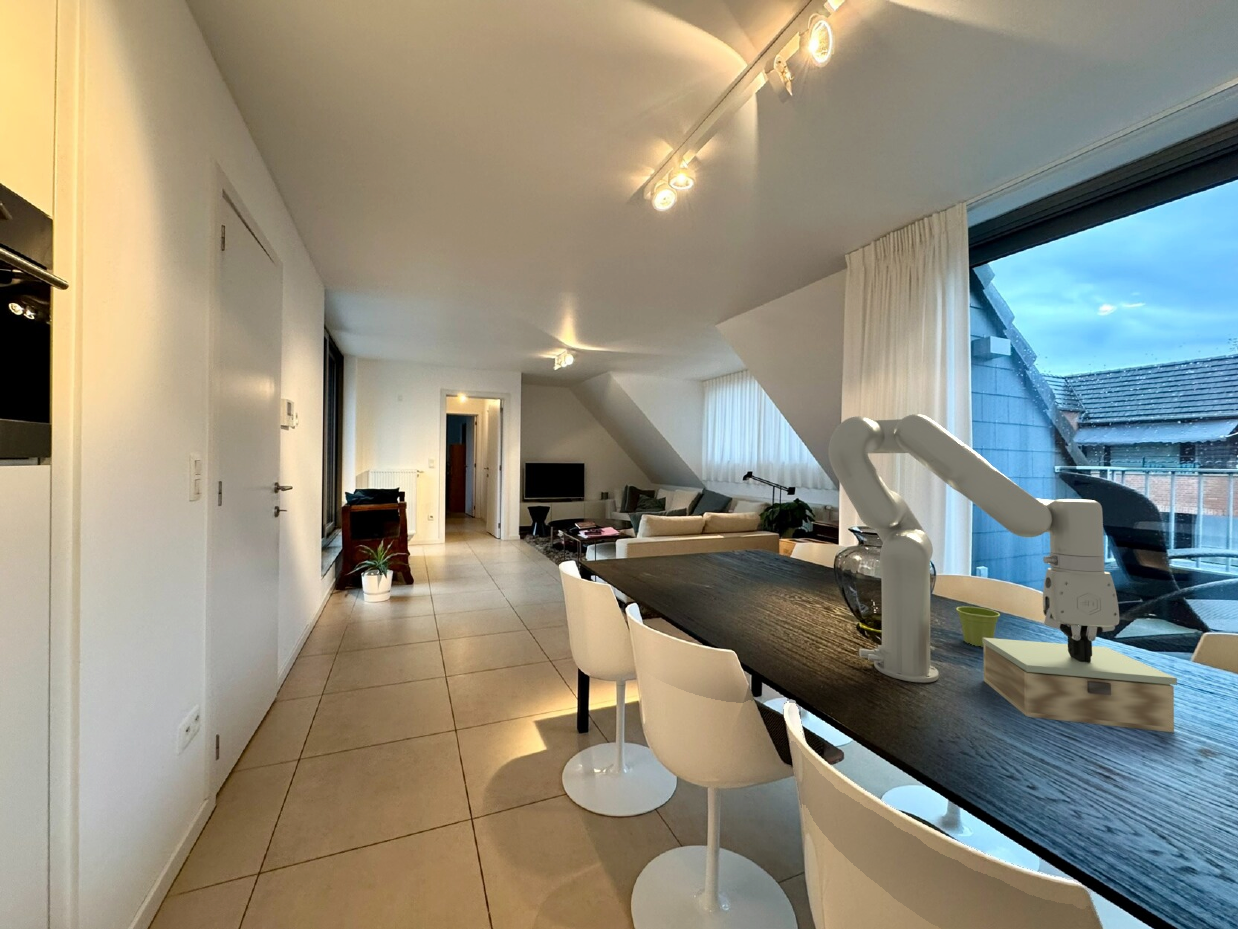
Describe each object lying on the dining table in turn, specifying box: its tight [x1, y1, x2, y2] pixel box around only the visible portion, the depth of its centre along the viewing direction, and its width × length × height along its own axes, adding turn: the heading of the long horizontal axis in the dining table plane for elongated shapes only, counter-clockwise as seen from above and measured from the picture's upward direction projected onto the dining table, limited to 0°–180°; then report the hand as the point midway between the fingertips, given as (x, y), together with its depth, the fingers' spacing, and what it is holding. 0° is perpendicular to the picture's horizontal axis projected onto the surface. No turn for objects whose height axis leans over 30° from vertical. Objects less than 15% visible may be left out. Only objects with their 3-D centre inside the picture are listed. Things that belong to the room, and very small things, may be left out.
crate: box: [983, 644, 1175, 733], centre depth 95 cm, size 22×16×8 cm
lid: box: [982, 637, 1178, 686], centre depth 95 cm, size 22×16×1 cm
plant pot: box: [955, 606, 1001, 648], centre depth 128 cm, size 9×9×9 cm
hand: (1080, 659), depth 93 cm, fingers closed
